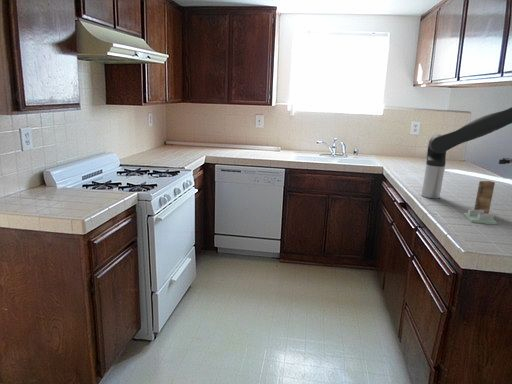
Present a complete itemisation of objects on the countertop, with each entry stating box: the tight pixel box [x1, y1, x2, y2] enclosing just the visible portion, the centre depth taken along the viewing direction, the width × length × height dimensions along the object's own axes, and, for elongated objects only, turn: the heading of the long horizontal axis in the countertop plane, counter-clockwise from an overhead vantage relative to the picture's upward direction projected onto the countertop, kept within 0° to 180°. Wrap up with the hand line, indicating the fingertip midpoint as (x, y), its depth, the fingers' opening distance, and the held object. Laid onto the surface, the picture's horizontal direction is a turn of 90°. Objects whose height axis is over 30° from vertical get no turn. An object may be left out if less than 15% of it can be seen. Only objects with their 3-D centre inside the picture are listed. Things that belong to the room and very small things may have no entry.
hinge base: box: [464, 209, 498, 225], centre depth 179 cm, size 11×10×4 cm
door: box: [473, 180, 496, 213], centre depth 189 cm, size 3×7×15 cm, turn 108°
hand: (507, 163), depth 188 cm, fingers open, 8 cm apart
